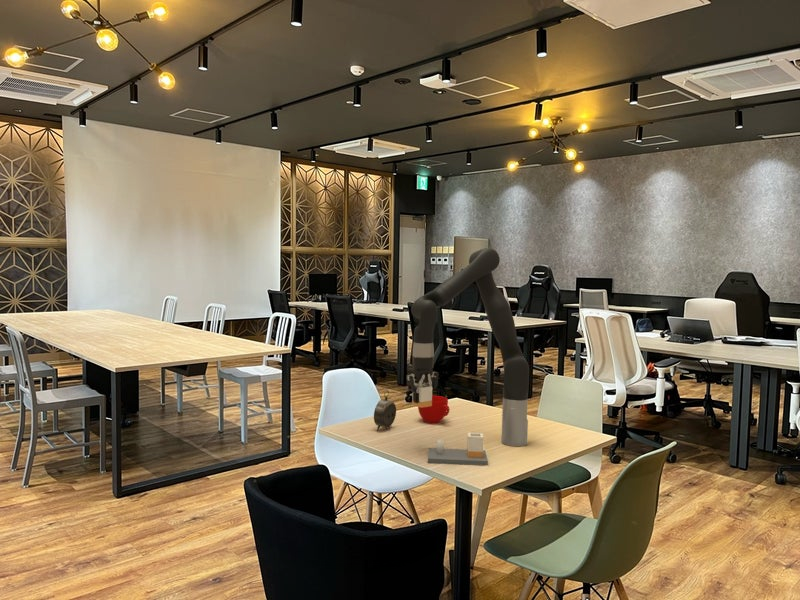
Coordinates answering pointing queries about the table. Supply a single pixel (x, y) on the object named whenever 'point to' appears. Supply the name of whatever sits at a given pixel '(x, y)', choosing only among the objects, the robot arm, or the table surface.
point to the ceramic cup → (435, 410)
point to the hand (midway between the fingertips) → (422, 401)
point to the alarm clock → (384, 413)
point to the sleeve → (424, 397)
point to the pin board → (460, 452)
